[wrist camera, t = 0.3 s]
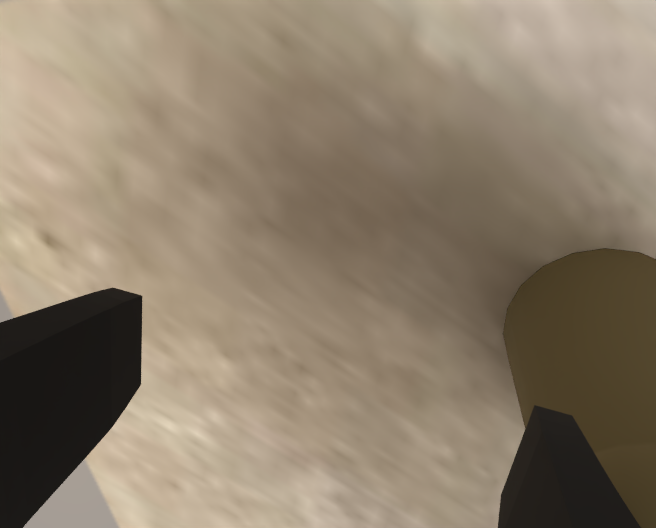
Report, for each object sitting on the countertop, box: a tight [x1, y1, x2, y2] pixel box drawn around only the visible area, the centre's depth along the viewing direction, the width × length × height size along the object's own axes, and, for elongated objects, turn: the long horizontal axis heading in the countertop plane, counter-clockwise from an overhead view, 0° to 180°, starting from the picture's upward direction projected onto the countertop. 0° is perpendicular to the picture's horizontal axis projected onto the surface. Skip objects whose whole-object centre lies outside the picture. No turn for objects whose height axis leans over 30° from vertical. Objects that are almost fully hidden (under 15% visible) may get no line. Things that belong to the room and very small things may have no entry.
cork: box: [503, 249, 656, 528], centre depth 15 cm, size 6×6×11 cm
